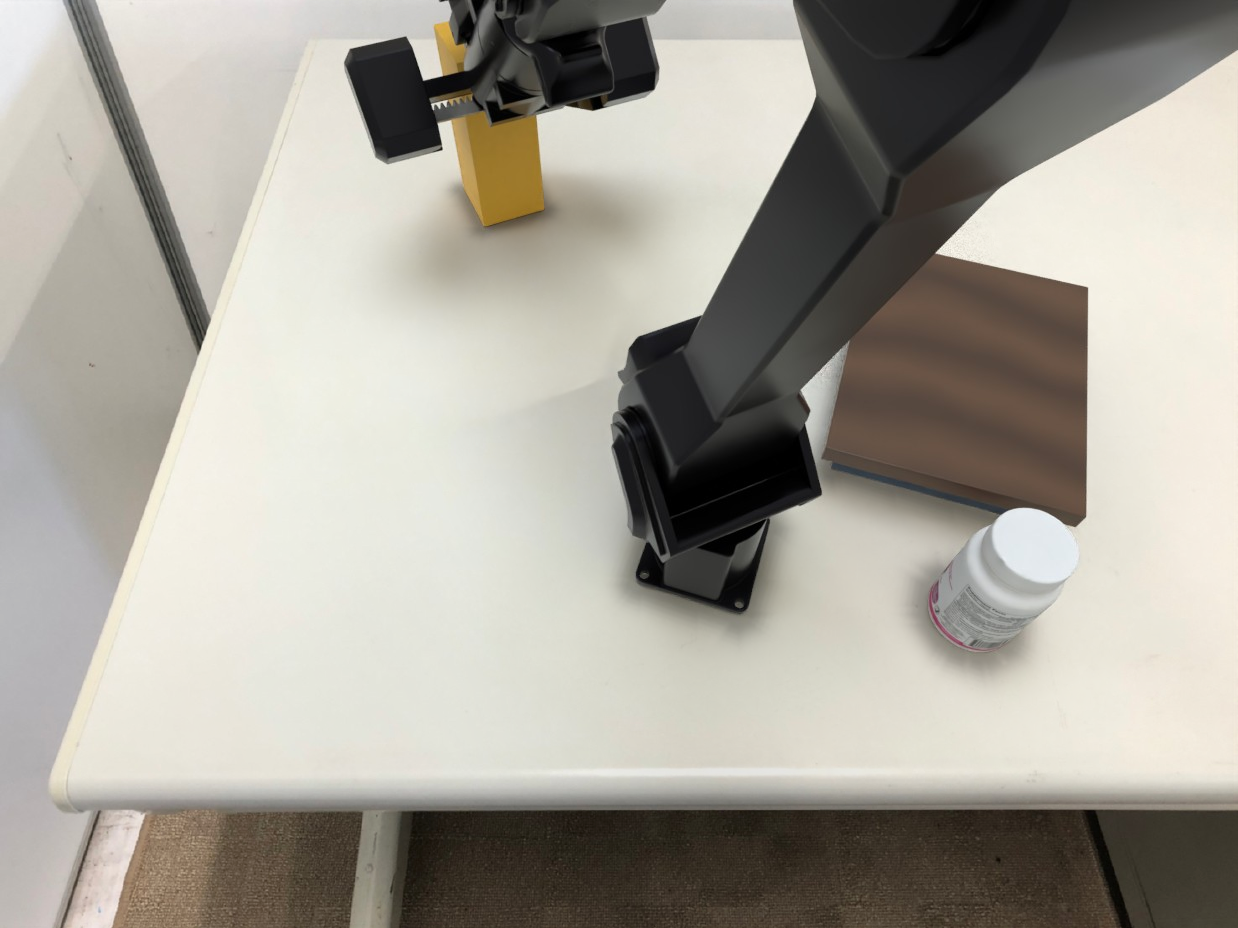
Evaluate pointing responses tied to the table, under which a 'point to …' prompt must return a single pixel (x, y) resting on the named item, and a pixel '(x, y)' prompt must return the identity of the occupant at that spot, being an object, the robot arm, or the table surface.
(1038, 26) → the robot arm
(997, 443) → the board
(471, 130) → the block
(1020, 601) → the pill bottle
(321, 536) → the table surface
